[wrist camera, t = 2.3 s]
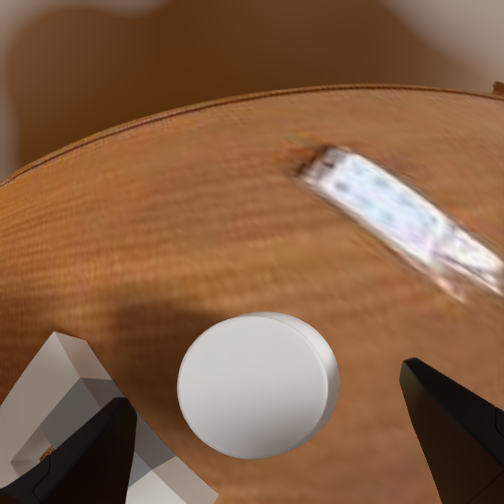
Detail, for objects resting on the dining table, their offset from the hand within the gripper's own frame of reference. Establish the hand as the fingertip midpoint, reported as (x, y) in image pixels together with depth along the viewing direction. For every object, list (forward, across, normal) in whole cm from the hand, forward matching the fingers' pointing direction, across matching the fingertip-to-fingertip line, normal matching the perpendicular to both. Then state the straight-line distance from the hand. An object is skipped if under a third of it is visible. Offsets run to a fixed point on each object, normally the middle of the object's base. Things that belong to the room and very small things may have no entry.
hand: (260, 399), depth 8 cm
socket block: (+1, +16, +11) cm, 19 cm away
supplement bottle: (+6, 0, +6) cm, 8 cm away
